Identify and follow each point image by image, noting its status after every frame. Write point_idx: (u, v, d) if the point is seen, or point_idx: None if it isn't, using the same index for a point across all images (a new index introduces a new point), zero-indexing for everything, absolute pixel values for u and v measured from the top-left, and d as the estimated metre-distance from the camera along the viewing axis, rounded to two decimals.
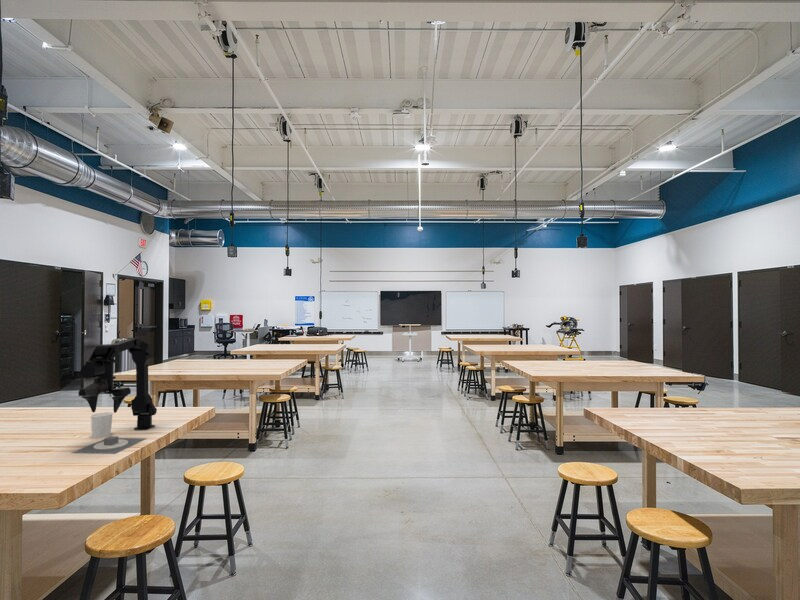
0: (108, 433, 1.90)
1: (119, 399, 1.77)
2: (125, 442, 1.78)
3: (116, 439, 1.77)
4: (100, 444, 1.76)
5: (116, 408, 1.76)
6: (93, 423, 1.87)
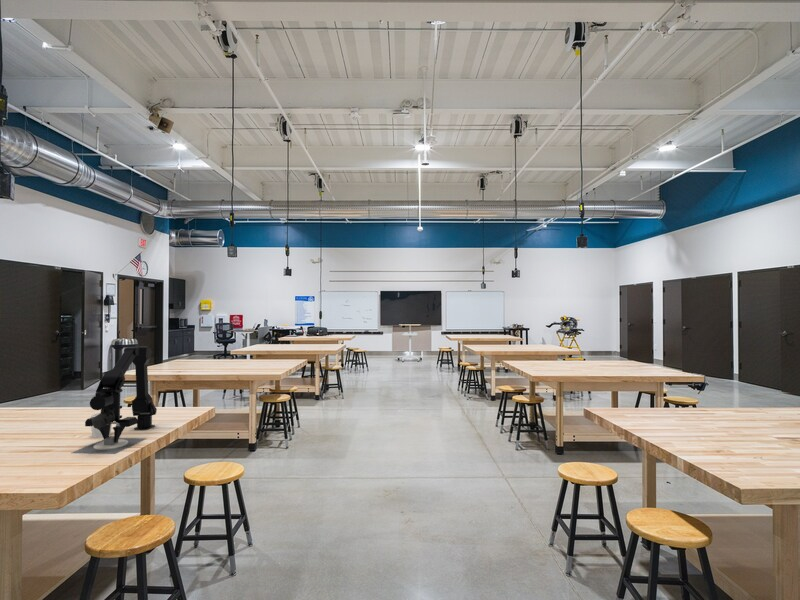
0: None
1: (120, 429, 1.77)
2: (125, 442, 1.79)
3: None
4: (100, 444, 1.76)
5: (117, 438, 1.76)
6: None
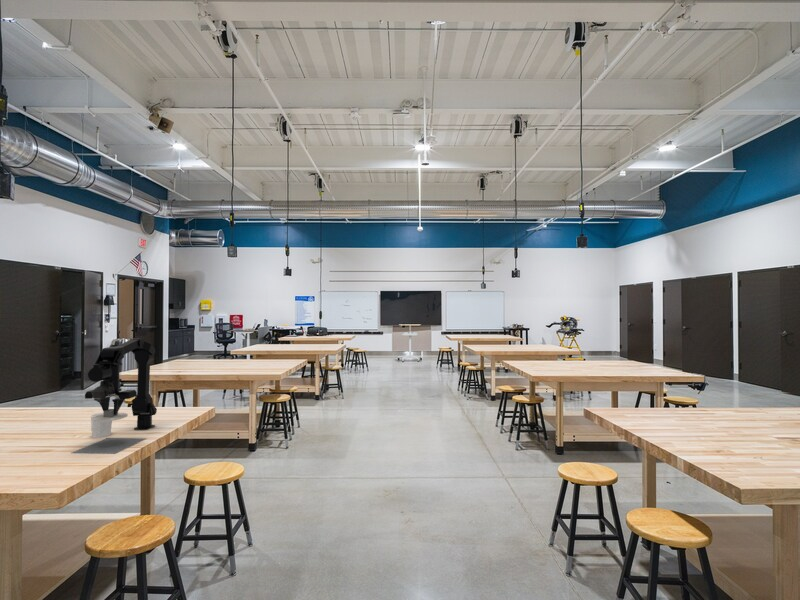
0: (108, 433, 1.90)
1: (119, 401, 1.79)
2: (124, 414, 1.81)
3: None
4: (100, 416, 1.78)
5: (116, 410, 1.79)
6: (93, 423, 1.87)
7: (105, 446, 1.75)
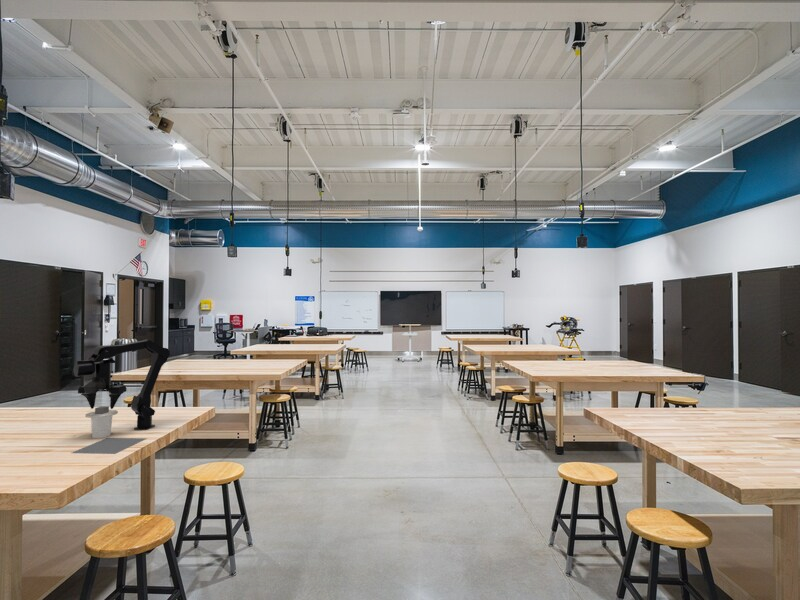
0: (108, 433, 1.90)
1: (115, 396, 1.91)
2: (115, 412, 1.92)
3: (106, 409, 1.91)
4: (92, 413, 1.89)
5: (113, 405, 1.90)
6: (93, 423, 1.87)
7: (105, 446, 1.75)
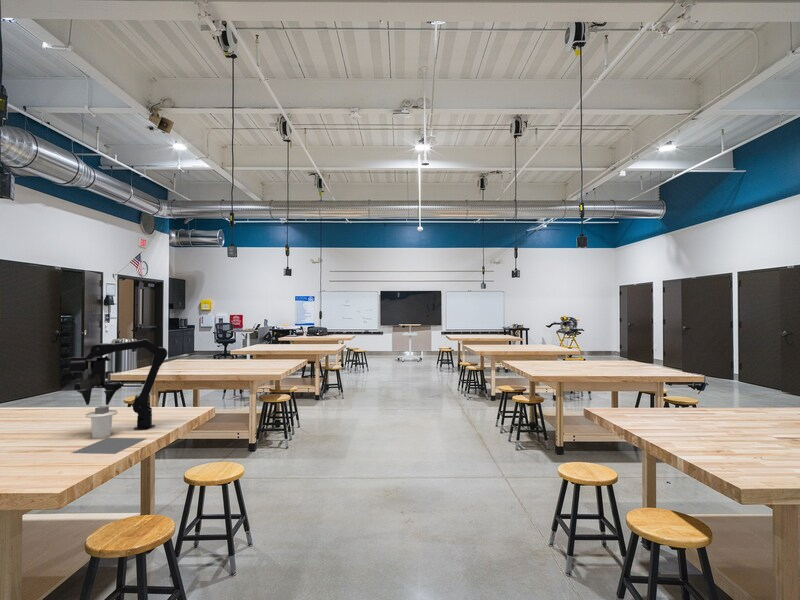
0: (108, 433, 1.90)
1: (111, 393, 1.96)
2: (115, 412, 1.92)
3: (106, 409, 1.91)
4: (91, 413, 1.89)
5: (108, 401, 1.95)
6: (93, 423, 1.87)
7: (105, 446, 1.75)
